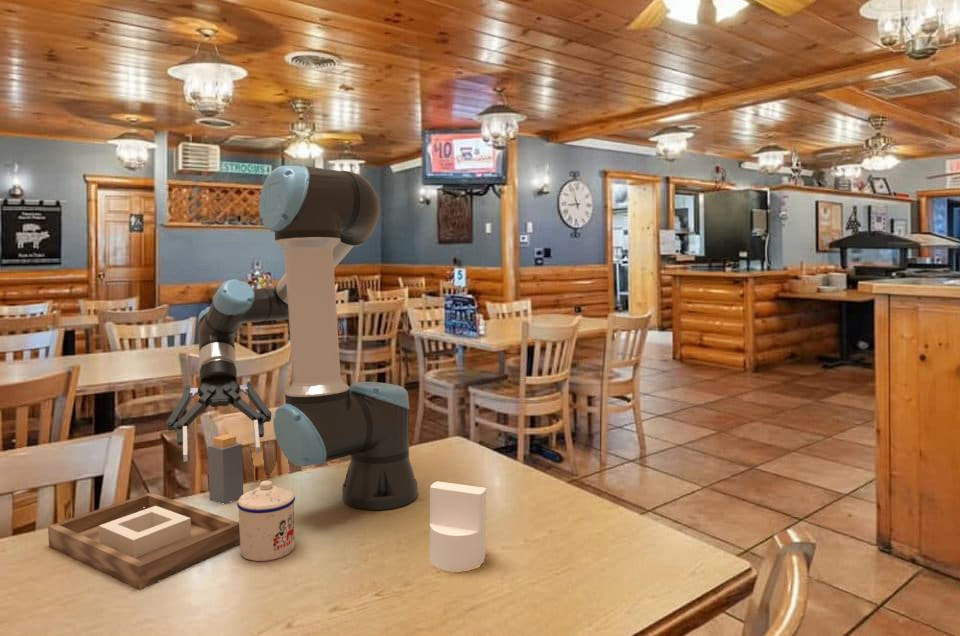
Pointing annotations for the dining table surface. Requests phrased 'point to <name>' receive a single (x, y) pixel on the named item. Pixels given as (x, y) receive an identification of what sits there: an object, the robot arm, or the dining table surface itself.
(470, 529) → the cylinder with rectangular tab
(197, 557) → the brown wooden tray
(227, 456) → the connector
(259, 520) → the teacup with lid
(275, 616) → the dining table surface
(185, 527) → the socket
